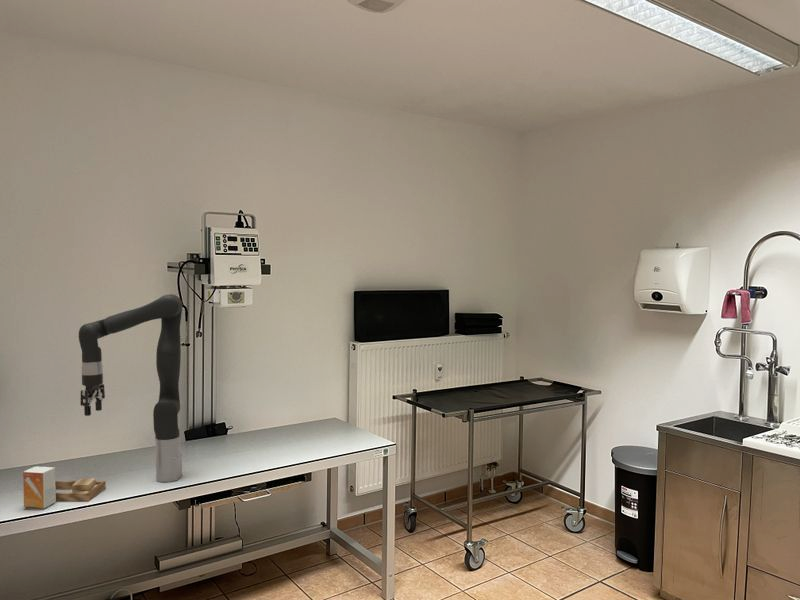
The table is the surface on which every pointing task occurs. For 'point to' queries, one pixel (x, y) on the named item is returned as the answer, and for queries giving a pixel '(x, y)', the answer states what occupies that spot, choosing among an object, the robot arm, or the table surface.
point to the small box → (39, 487)
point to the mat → (35, 508)
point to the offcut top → (84, 485)
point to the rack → (77, 496)
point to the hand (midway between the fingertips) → (93, 412)
